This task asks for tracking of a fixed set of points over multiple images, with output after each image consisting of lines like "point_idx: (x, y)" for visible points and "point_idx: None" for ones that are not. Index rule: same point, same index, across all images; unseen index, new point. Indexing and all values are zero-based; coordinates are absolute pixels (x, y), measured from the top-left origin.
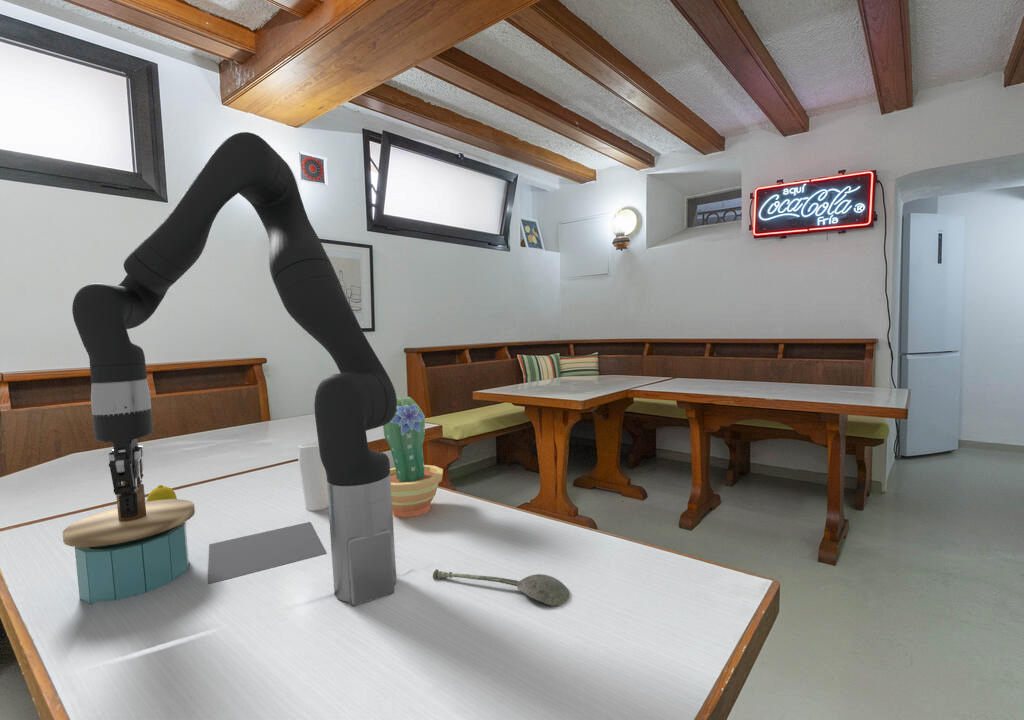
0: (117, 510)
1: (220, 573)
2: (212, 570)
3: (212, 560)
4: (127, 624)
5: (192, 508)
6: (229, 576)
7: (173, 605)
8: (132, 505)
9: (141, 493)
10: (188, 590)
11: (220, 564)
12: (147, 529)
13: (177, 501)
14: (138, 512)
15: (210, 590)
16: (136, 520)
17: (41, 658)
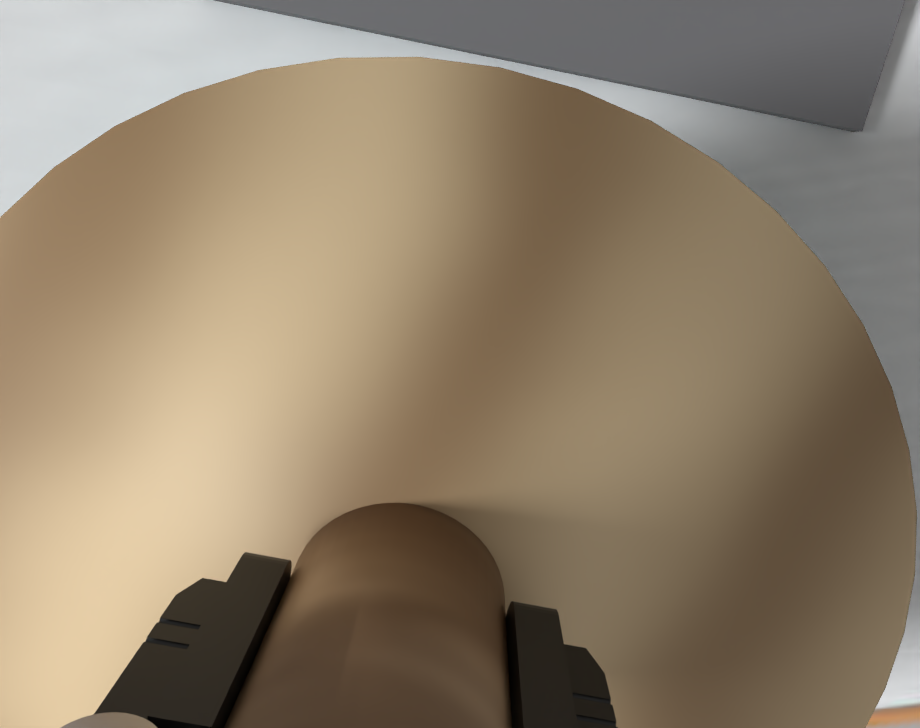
0: (35, 674)
1: (781, 38)
2: (690, 69)
3: (525, 36)
4: (915, 475)
5: (610, 106)
6: (872, 3)
7: (908, 303)
8: (610, 726)
9: (462, 698)
10: (796, 219)
11: (637, 8)
12: (907, 538)
13: (137, 197)
14: (521, 604)
15: (905, 127)
16: (542, 585)
17: (911, 705)
